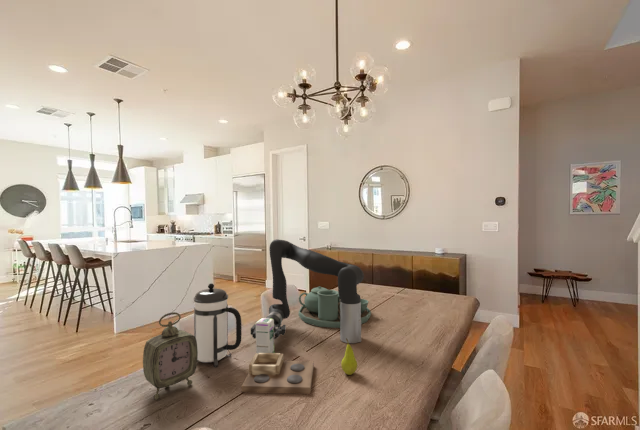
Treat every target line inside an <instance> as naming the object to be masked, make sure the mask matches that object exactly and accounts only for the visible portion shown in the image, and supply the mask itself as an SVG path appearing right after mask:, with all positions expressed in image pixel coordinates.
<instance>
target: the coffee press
mask: <svg viewBox="0 0 640 430" xmlns="http://www.w3.org/2000/svg"><path fill="white" fill-rule="evenodd" d="M228 299H229V294H227V291H226V290H224V289H222V288H217V287H215V285H214V284H213V283H212V282H211V283H208V284H207V288H206V289H202V290H200V291H199V290H198V292H197V293H196V294H195V296H194V297H193V301H192V302H193V304H194V306H193V328H194V330H193V331H194V332H193V333H194V334H193V335H194V336H195V338H196V341H197V350H198V357H197V363H198V362H200V363H212V364H213V368H218V367H219V363H218V361H220V360H222V359H223V358H225V357H226V356H227V357H231V355H232V353H231V352H230V351H234V350H236V349H238V348H239V347H240V345H241V343H242V332H243V331H242V316H241V313H240V312H239V310H237V309H236V308H234V307H231V306H230V307H229V305H228ZM229 313H231V314H232V315H234V318H235V332H236V333H235V335H236V337H235V338H236V339H235V343H234V344H229V336H228V335H229V332H228V331H229V329H228V327H229V325H228V324H229V323H228V322H229V318H228V317H229V315H228V314H229ZM228 353H229V354H228Z"/></svg>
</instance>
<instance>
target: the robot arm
mask: <svg viewBox="0 0 640 430" xmlns="http://www.w3.org/2000/svg"><path fill="white" fill-rule="evenodd" d="M269 259H270V267H271V274H272V298H273V299H275V300H279V301H280V302H281V303H273V304H270V305H269V307H268V314H267V316H266V317H265V318H272V319H274V340H277V339H278V338H279V337H280V336H285V335H286V330H287V329H286V327H287V325H286V324H282V323H283V320H284V319H288V318H289V316H290V314H291V311H290V305H289V302H288V297H287V292H288V291H287V285H288V284H287V277H286V275H285V273H284V270H283V265H282V260H283V259H289V260H292V261H295V262H297V263H298V264H299V265H300V266H301V267H303V268H304V269H307V270H309V271H312V272H314V273H317V274H323V275H330V276H331V275H332V276H335V277H337V291H338V293H339V297H340V328H339V333H340V334H339V335H340V337H339V338H340V341H341V342H343V343H346V344H348V343H349V344H357V343H361V342H362V324H361V299H362V298H361V295H360V294H359V293H358V289H357V286H358V285H359V284H361V283H362V282H363V280H364V278H365V274H364V271H363V270H362V269H361V267H359V266H357V265H355V264H351V263H347V262H342V261H340V260H337V259H334V258H332V257H329V256H327V255H324V254H322V253H321V252H316V251H314V250H311V249H307V248H303V247H299V246H298V245H296V244H293V243H292V242H290V241H288V240H283V239H280V238H279V239H274V240H272V241H271V242H270V243H269ZM250 335H251V336H252V338H253V340H256V323H255V324H253V325H252V327H250ZM346 338H347V340H348V342H347V340H346Z"/></svg>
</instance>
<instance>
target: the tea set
mask: <svg viewBox="0 0 640 430" xmlns="http://www.w3.org/2000/svg"><path fill="white" fill-rule="evenodd" d="M304 295H305V296H304ZM303 296H304V300H303V301H304V303H303V302H302V299H301V298H302V297H303ZM298 302H299V304H300V305H301V307H300V308H299V310H298V317H299V318H300V319H301V320H302V322H304V323H305V324H307V325H308V324H309V325H312V326H315V327H321V328H331V329H332V328H333V329H340V297H339V293H338V290H335V289H327V288H326V287H322V286H317V287H313V288H312V289H311V290H310V292H302V293H301V294H299V297H298ZM368 304H369V300H368V299H365V298H361V325H362V324H365V323H367V322H368V320H369V319H370V317H371V316H372V311H371V309H370V308H369V307H368Z"/></svg>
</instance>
